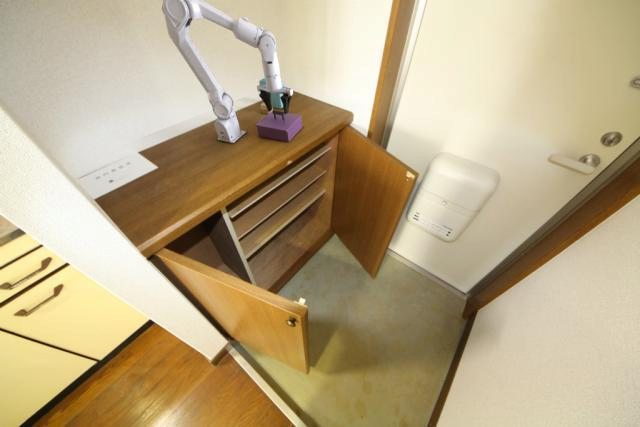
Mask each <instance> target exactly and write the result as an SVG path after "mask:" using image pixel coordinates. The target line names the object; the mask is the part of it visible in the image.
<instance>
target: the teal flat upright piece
mask: <svg viewBox="0 0 640 427" xmlns="http://www.w3.org/2000/svg"><path fill="white" fill-rule="evenodd" d="M258 84H259V85H266V81H265V77H264V78H261V79H260V80H259V82H258ZM281 84H282V86H284V87H285V83H284V81H283V80H282V79H281ZM282 95H283V94H278V93H271V103H272V108H273V109H274V108H275V109H278V110H281V109H284V108H283V104H282V101H281V99H280V97H281V96H282Z"/></svg>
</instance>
